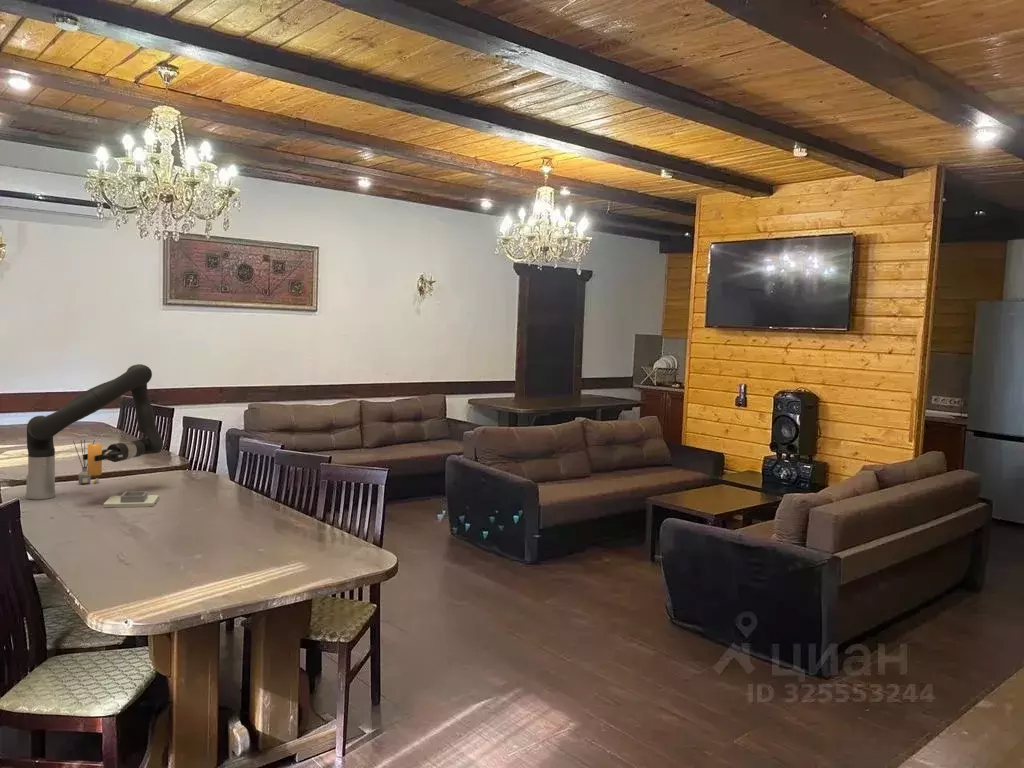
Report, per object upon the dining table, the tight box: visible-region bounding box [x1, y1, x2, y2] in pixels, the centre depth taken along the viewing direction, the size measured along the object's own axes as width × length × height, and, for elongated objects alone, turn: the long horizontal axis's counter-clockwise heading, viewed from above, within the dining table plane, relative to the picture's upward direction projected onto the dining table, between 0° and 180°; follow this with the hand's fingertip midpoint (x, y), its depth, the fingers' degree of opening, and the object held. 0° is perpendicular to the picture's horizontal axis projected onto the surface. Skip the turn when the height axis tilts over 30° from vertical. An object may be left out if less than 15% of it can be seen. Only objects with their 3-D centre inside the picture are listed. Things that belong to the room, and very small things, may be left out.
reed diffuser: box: [72, 439, 100, 484], centre depth 334 cm, size 10×7×20 cm
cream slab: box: [102, 490, 160, 509], centre depth 304 cm, size 18×14×4 cm
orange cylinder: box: [87, 443, 103, 477], centre depth 300 cm, size 5×5×12 cm
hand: (89, 458), depth 297 cm, fingers closed on orange cylinder, 5 cm apart
